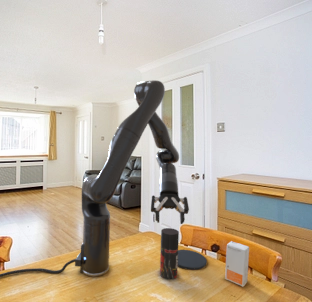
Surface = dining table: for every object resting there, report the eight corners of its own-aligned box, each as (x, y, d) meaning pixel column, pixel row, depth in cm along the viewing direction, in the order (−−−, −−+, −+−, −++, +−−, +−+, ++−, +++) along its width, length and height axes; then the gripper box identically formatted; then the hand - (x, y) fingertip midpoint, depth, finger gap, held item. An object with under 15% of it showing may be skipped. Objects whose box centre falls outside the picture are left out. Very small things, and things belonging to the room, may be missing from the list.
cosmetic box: (224, 279, 75) (226, 244, 75) (229, 274, 78) (230, 240, 78) (243, 287, 71) (245, 250, 71) (248, 282, 74) (249, 246, 74)
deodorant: (177, 280, 74) (178, 235, 73) (159, 277, 75) (160, 233, 75) (177, 270, 80) (178, 229, 79) (160, 268, 81) (162, 227, 80)
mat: (171, 268, 81) (171, 266, 81) (168, 250, 95) (168, 248, 95) (210, 271, 80) (211, 268, 80) (201, 252, 94) (202, 250, 94)
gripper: (151, 179, 91) (150, 216, 79) (187, 181, 90) (191, 218, 79) (151, 190, 96) (150, 226, 85) (184, 191, 95) (188, 228, 84)
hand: (170, 222), depth 82 cm, fingers open, 8 cm apart
